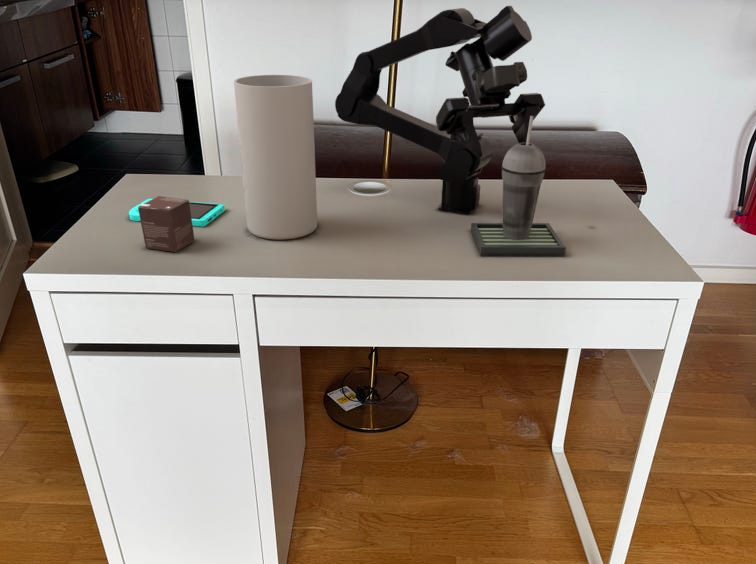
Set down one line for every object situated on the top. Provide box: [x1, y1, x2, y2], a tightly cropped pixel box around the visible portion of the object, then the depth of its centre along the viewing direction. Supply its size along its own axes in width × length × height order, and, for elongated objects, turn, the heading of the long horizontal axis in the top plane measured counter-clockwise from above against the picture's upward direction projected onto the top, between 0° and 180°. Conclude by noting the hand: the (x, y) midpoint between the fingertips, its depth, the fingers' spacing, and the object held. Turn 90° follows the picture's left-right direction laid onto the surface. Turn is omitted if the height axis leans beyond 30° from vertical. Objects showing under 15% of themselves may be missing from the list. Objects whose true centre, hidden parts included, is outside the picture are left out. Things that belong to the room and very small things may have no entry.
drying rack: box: [470, 222, 567, 257], centre depth 118 cm, size 14×12×2 cm
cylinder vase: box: [233, 74, 318, 241], centre depth 117 cm, size 12×12×25 cm
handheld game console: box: [128, 198, 226, 228], centre depth 129 cm, size 10×16×1 cm, turn 78°
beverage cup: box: [500, 116, 547, 240], centre depth 113 cm, size 7×7×20 cm
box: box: [138, 195, 196, 253], centre depth 114 cm, size 6×6×7 cm
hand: (504, 154), depth 117 cm, fingers open, 9 cm apart
